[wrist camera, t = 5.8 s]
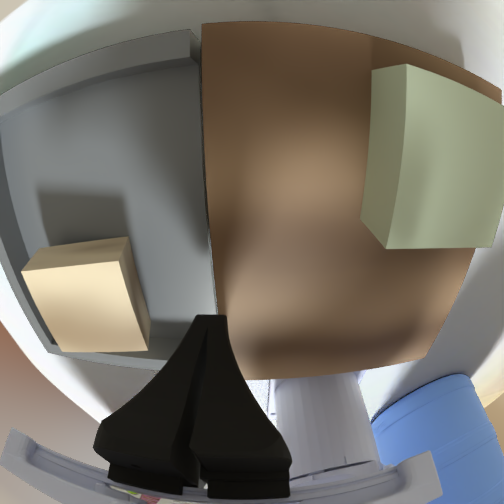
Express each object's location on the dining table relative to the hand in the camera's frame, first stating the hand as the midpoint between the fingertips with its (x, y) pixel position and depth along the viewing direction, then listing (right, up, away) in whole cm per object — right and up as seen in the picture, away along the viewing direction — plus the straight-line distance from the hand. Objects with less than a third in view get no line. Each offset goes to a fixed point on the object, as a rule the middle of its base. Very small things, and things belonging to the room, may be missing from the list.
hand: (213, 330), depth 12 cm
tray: (-7, +5, +2) cm, 9 cm away
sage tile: (+9, +8, -3) cm, 12 cm away
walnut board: (+7, +5, +2) cm, 9 cm away
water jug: (+24, -17, +15) cm, 33 cm away
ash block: (-7, 0, 0) cm, 7 cm away
